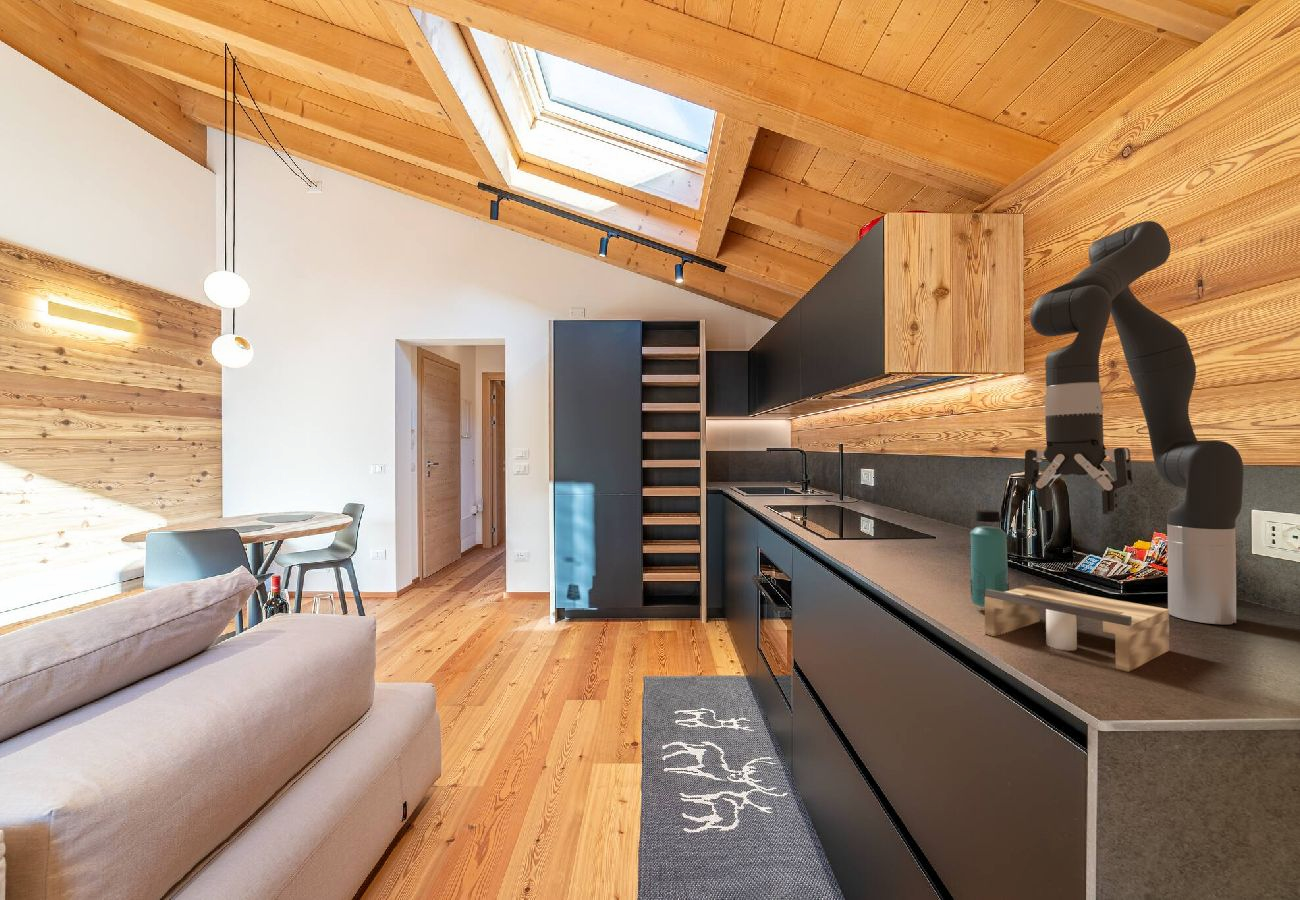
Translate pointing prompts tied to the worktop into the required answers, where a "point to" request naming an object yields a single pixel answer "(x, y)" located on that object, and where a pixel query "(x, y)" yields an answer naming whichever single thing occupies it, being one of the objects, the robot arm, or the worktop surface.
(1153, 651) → the shelf
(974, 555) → the beverage bottle
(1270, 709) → the worktop surface
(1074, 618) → the white cylinder
